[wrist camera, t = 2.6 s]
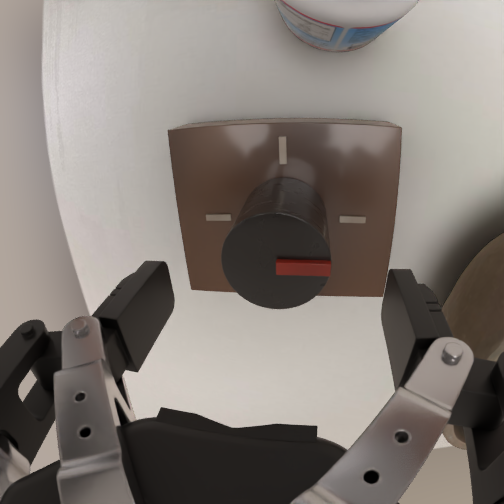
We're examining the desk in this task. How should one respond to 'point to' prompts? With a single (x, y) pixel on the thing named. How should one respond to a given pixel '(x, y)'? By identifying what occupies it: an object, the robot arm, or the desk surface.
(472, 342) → the bowl
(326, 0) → the pill bottle
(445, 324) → the robot arm
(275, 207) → the knob
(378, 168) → the panel
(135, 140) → the desk surface
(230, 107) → the desk surface
